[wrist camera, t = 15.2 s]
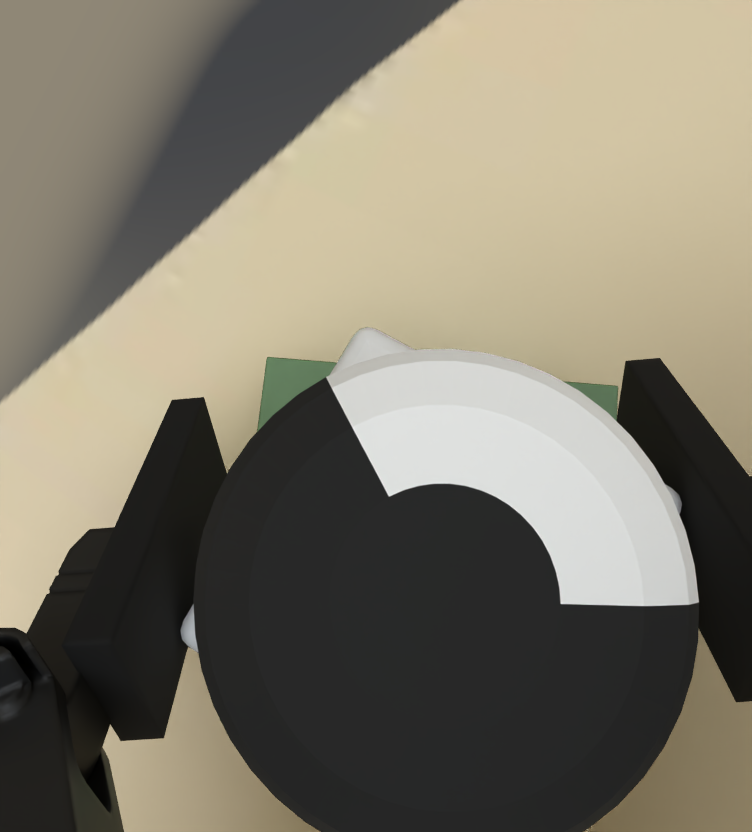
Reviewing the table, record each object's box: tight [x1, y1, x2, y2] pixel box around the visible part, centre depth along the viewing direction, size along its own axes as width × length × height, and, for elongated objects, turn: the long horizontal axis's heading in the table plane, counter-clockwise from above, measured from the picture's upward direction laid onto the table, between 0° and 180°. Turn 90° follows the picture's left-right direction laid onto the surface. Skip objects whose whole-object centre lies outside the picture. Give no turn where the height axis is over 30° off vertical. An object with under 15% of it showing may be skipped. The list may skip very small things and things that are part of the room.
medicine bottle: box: [180, 327, 699, 832], centre depth 13 cm, size 7×7×12 cm
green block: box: [220, 357, 618, 721], centre depth 21 cm, size 11×11×5 cm
